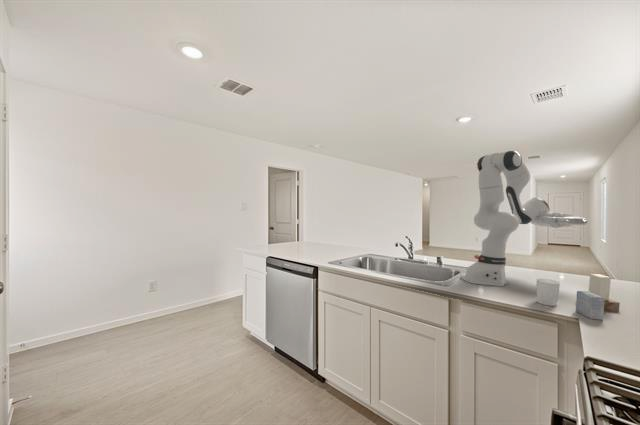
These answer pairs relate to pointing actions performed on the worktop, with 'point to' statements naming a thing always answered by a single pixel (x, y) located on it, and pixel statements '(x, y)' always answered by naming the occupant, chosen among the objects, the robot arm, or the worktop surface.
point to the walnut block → (611, 305)
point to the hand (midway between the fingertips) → (576, 221)
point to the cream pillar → (600, 285)
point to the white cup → (547, 291)
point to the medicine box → (590, 305)
